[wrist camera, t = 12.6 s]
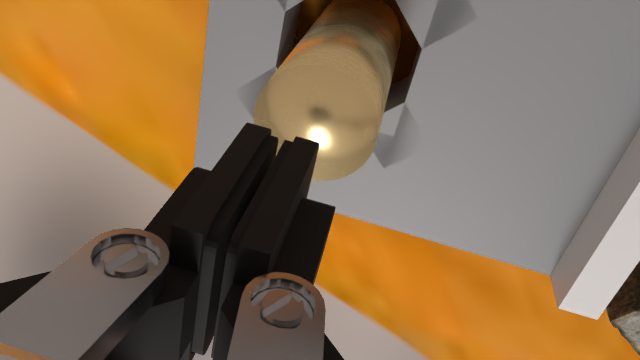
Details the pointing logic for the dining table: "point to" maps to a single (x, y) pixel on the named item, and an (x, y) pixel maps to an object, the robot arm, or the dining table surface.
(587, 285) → the plate
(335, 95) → the brass pin
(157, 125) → the dining table surface
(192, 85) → the dining table surface
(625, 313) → the stone block
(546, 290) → the dining table surface
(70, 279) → the robot arm
